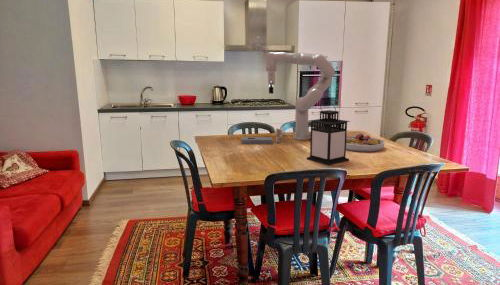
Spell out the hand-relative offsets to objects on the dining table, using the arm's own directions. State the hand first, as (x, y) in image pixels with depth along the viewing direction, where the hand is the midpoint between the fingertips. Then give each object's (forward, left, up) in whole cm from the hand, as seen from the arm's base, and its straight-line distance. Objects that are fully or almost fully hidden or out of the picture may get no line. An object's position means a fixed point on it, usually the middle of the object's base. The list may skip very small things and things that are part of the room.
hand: (271, 92), depth 272 cm
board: (+10, +13, -35) cm, 39 cm away
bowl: (-60, +30, -36) cm, 76 cm away
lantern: (-32, +64, -35) cm, 80 cm away
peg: (-6, +13, -35) cm, 38 cm away
